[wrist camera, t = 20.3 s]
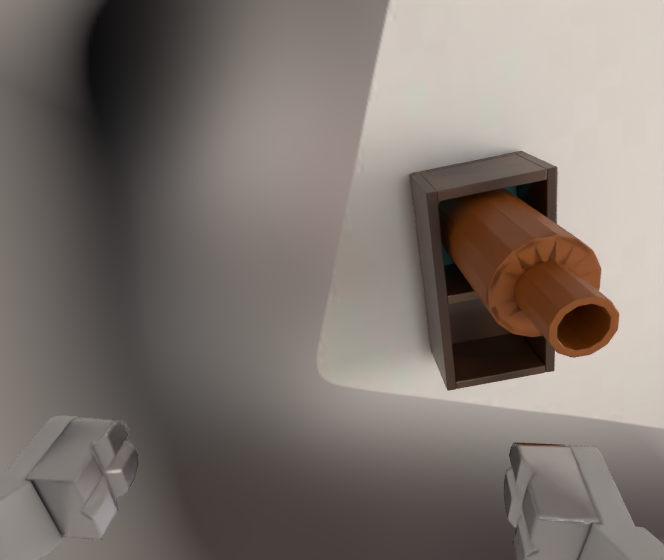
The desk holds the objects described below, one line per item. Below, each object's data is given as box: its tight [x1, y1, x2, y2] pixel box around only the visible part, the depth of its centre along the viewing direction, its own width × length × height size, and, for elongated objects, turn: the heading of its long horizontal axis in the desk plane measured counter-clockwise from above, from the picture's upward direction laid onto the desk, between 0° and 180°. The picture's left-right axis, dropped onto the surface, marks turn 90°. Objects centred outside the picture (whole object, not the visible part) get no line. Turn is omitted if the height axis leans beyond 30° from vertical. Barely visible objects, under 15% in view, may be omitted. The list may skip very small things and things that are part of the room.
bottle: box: [438, 188, 619, 357], centre depth 29 cm, size 6×6×16 cm
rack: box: [410, 151, 557, 390], centre depth 36 cm, size 8×16×6 cm, turn 11°
